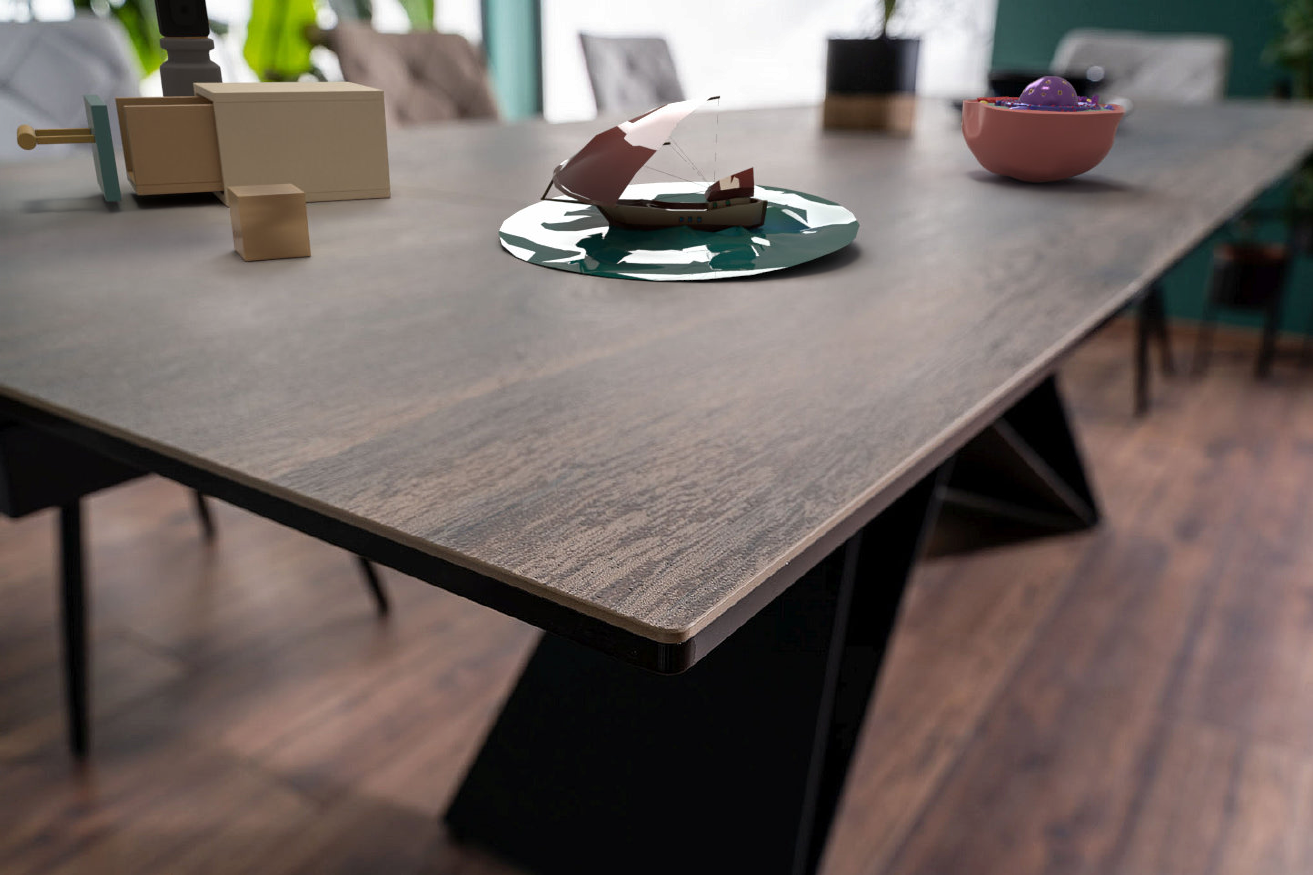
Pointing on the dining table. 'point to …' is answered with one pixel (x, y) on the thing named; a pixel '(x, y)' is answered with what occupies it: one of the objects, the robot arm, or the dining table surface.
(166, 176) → the drawer
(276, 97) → the cabinet
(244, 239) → the block
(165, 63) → the bottle
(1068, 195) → the dining table surface
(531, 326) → the dining table surface
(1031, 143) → the cell model
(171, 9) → the robot arm
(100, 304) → the dining table surface
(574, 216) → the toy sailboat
